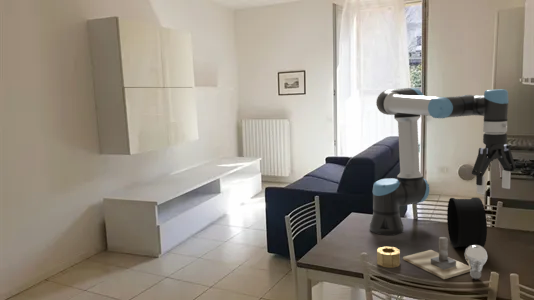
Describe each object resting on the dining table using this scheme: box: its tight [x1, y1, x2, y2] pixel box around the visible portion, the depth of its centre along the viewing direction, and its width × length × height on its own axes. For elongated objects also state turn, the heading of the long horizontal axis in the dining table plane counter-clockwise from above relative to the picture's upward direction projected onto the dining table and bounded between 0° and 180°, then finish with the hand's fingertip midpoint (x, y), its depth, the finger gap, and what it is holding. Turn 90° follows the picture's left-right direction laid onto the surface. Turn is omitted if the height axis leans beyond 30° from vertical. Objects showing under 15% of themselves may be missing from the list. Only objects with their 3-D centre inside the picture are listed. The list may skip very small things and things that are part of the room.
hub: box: [376, 246, 401, 269], centre depth 159 cm, size 8×8×5 cm
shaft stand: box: [402, 236, 470, 280], centre depth 155 cm, size 20×14×11 cm
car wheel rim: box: [446, 197, 488, 248], centre depth 170 cm, size 20×10×20 cm, turn 168°
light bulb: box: [464, 245, 488, 280], centre depth 142 cm, size 7×7×12 cm
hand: (493, 191), depth 153 cm, fingers open, 13 cm apart
